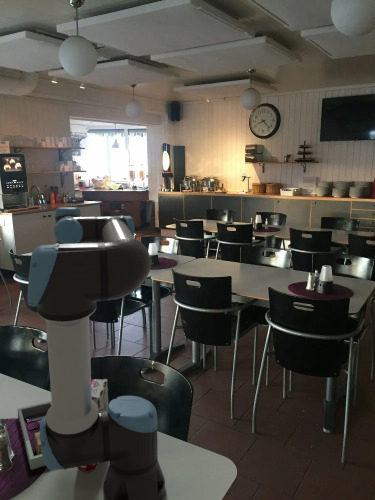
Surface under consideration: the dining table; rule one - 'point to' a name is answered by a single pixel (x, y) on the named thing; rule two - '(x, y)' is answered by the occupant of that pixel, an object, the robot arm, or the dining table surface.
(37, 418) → the channel
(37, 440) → the oak block
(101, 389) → the candy bar box
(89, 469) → the soda can
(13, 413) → the dining table surface
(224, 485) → the dining table surface
